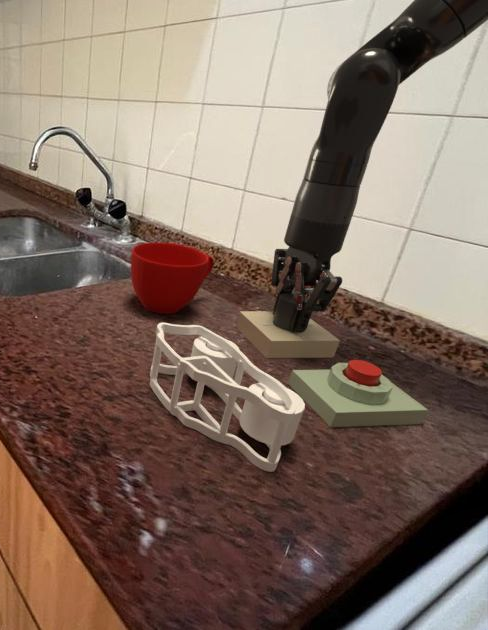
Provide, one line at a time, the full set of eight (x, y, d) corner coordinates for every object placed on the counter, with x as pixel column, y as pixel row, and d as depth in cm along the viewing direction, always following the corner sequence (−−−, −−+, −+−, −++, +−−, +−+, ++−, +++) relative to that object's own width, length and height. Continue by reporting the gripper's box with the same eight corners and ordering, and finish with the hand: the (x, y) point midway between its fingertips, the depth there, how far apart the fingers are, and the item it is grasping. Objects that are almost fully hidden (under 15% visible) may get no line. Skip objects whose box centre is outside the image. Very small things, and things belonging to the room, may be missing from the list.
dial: (267, 318, 72) (275, 290, 70) (292, 318, 73) (301, 291, 71) (281, 331, 68) (290, 302, 66) (308, 331, 69) (318, 302, 67)
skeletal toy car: (312, 463, 47) (335, 406, 44) (221, 482, 44) (239, 422, 41) (207, 363, 64) (218, 317, 61) (136, 371, 61) (144, 323, 58)
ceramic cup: (229, 312, 81) (242, 259, 76) (154, 327, 73) (163, 269, 69) (182, 286, 91) (191, 238, 87) (111, 297, 84) (117, 245, 79)
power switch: (367, 382, 62) (377, 357, 61) (420, 424, 54) (434, 397, 53) (287, 383, 61) (296, 358, 59) (330, 427, 53) (341, 399, 51)
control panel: (295, 327, 77) (301, 310, 76) (333, 357, 68) (340, 339, 67) (235, 327, 75) (239, 310, 74) (266, 358, 66) (271, 339, 65)
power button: (363, 371, 58) (367, 359, 57) (384, 387, 55) (389, 375, 54) (337, 371, 57) (342, 359, 56) (357, 388, 54) (362, 375, 53)
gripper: (382, 229, 57) (338, 346, 64) (316, 205, 70) (286, 305, 77) (327, 227, 56) (289, 346, 64) (270, 203, 69) (244, 304, 76)
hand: (287, 323), depth 70 cm, fingers closed on dial, 4 cm apart
